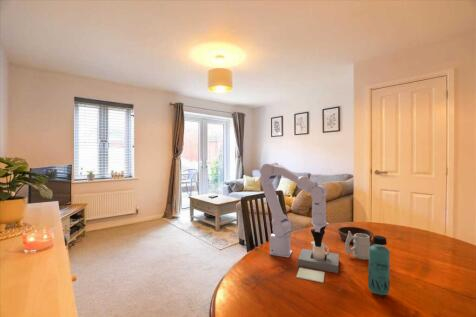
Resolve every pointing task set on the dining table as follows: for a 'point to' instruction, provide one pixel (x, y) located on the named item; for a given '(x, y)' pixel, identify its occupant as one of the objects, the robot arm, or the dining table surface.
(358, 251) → the mug
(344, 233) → the dish
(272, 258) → the dining table surface
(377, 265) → the beverage bottle
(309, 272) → the mat
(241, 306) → the dining table surface
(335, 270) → the holder
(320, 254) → the cream strapped capsule
